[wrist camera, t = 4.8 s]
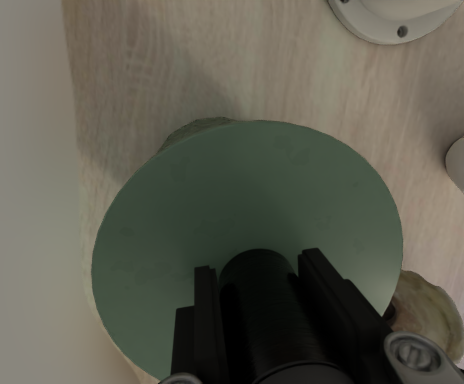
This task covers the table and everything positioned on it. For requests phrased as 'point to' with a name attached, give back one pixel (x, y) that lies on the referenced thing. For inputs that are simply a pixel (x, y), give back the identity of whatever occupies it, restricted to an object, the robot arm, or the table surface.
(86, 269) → the table surface
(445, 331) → the beige rounded hollow lump
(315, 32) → the table surface
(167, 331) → the tin lid
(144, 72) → the table surface
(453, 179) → the plain white apple
